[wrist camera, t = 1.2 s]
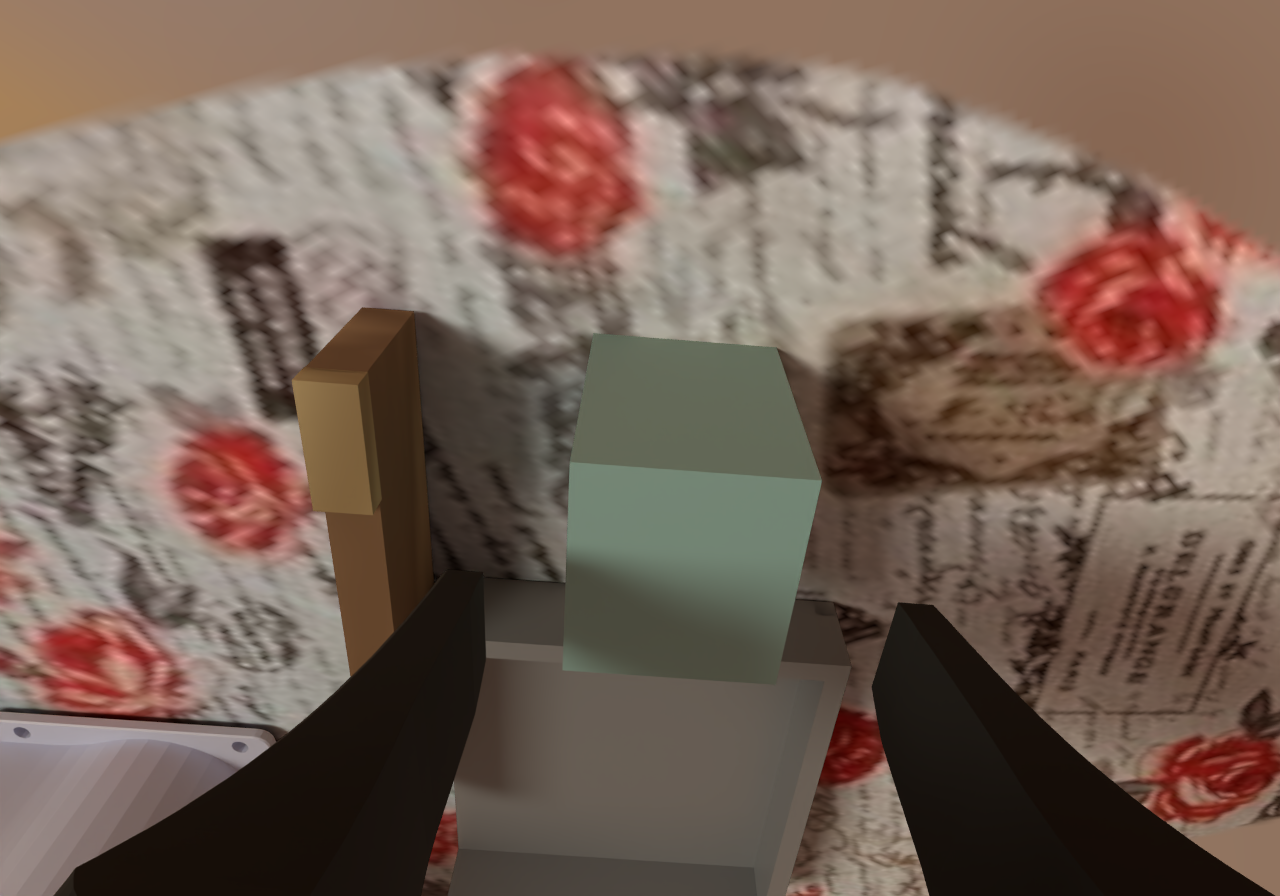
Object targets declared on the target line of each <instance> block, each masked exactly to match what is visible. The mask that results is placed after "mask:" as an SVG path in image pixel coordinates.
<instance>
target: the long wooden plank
mask: <svg viewBox="0 0 1280 896" xmlns="http://www.w3.org/2000/svg"><path fill="white" fill-rule="evenodd" d="M292 384H293V391H294V397H295V403H296V409H297V415H298V421H299V427H300V433H301V439H302V446H303V452H304V458H305V464H306V470H307V476H308V482H309V488H310V495H311V501H312V507H313V511H321V512H325V513H326V520H327V526H328V533H329V539H330V546H331V552H332V559H333V565H334V572H335V578H336V585H337V591H338V598H339V604H340V611H341V617H342V624H343V630H344V637H345V643H346V650H347V656H348V662H349V669H350V675H351V676H352V675H353V674H354V673H355V672H356V671H357V670H358V669H359V668H360V667H361V666H362V665H363V664H364V663H365V662H366V661H367V660H368V659H369V658H370V657H371V656H372V655H373V654H374V653H375V652H376V651H377V650H378V649H379V648H380V647H381V646H382V644H383V643H384V642H385V641H386V640H387V639H388V638H389V637H390V636H391V635H392V634H393V632H394V631H395V630H396V629H397V628H398V627H399V626H400V625H401V624H402V622H403V621H404V620H405V619H406V618H407V617H408V615H409V614H410V613H411V612H412V611H413V610H414V608H415V607H416V606H417V605H418V604H419V602H420V601H421V600H422V599H423V598H424V596H425V595H426V594H427V593H428V591H429V590H430V589H431V588H432V586H433V585H434V576H433V563H432V549H431V536H430V522H429V509H428V495H427V481H426V468H425V454H424V441H423V427H422V414H421V400H420V387H419V373H418V360H417V346H416V332H415V319H414V311H401V310H389V309H376V308H363V307H362V308H361V309H360V310H359V311H358V313H357V314H356V315H355V316H354V317H353V318H352V319H351V320H350V321H349V322H348V323H347V324H346V325H345V326H344V327H343V328H342V329H341V330H340V331H339V332H338V333H337V335H336V336H335V337H334V338H333V339H332V340H331V341H330V342H329V343H328V344H327V345H326V346H325V347H324V348H323V349H322V350H321V351H320V352H319V353H318V354H317V355H316V357H315V358H314V359H313V360H312V361H311V362H310V363H309V364H308V365H307V366H306V367H304V368H303V369H302V370H301V371H300V372H299V373H298V374H297V375H296V376H295V377H294V378H293V379H292Z"/></svg>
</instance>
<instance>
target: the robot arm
mask: <svg viewBox="0 0 1280 896" xmlns="http://www.w3.org/2000/svg"><path fill="white" fill-rule="evenodd" d="M485 662H486V640H485V611H484V581H483V572H473V571H459V570H447V571H446V572H444V573H443V574H442V575H441V576H440V577H439V579H438V580H437V581H436V582H435V584H434V585H433V586H432V588H431V589H430V590H429V591H428V593H427V594H426V595H425V596H424V598H423V599H422V600H421V601H420V602H419V604H418V605H417V606H416V607H415V608H414V610H413V611H412V612H411V613H410V614H409V615H408V617H407V618H406V619H405V620H404V621H403V622H402V624H401V625H400V626H399V627H398V628H397V629H396V630H395V631H394V632H393V634H392V635H391V636H390V637H389V638H388V639H387V640H386V641H385V642H384V643H383V644H382V646H381V647H380V648H379V649H378V650H377V651H376V652H375V653H374V654H373V655H372V656H371V657H370V658H369V659H368V660H367V661H366V662H365V663H364V664H363V665H362V666H361V667H360V668H359V669H358V670H357V671H356V672H355V673H354V674H353V675H352V676H351V677H350V678H349V679H348V680H347V681H346V682H345V683H344V684H343V685H342V686H341V687H340V688H339V689H338V690H337V691H336V692H335V693H334V694H333V695H331V696H330V697H329V698H328V699H327V700H326V701H325V702H324V703H323V704H322V705H320V706H319V707H318V708H317V709H316V710H315V711H314V712H312V713H311V714H310V715H309V716H308V717H307V718H305V719H304V720H303V721H302V722H301V723H299V724H298V725H297V726H296V727H295V728H293V729H292V730H291V731H290V732H289V733H287V734H286V735H285V736H284V737H282V738H281V739H280V740H278V741H277V742H276V740H275V738H274V736H273V735H272V734H271V733H269V732H268V731H265V730H262V729H254V728H239V727H224V726H209V725H194V724H179V723H164V722H149V721H135V720H120V719H105V718H90V717H75V716H60V715H45V714H30V713H15V712H0V896H421V892H422V888H423V884H424V879H425V875H426V870H427V866H428V862H429V858H430V855H431V851H432V847H433V844H434V840H435V837H436V833H437V830H438V827H439V824H440V821H441V818H442V815H443V812H444V809H445V806H446V803H447V800H448V797H449V794H450V791H451V787H452V784H453V781H454V778H455V775H456V772H457V769H458V766H459V763H460V760H461V757H462V754H463V751H464V747H465V744H466V741H467V738H468V735H469V732H470V729H471V726H472V722H473V719H474V716H475V712H476V708H477V703H478V698H479V693H480V688H481V683H482V678H483V673H484V668H485ZM872 691H873V697H874V703H875V709H876V715H877V720H878V725H879V730H880V736H881V741H882V745H883V748H884V751H885V754H886V758H887V761H888V764H889V767H890V770H891V774H892V777H893V780H894V783H895V786H896V790H897V793H898V796H899V799H900V802H901V805H902V808H903V811H904V814H905V817H906V821H907V824H908V827H909V830H910V833H911V836H912V839H913V842H914V845H915V848H916V852H917V855H918V858H919V861H920V864H921V867H922V871H923V874H924V878H925V881H926V885H927V889H928V892H929V896H1275V895H1273V894H1271V893H1270V892H1268V891H1267V890H1265V889H1264V888H1262V887H1260V886H1259V885H1257V884H1256V883H1254V882H1253V881H1251V880H1249V879H1248V878H1246V877H1245V876H1243V875H1242V874H1240V873H1239V872H1237V871H1235V870H1234V869H1232V868H1231V867H1229V866H1228V865H1226V864H1224V863H1223V862H1222V861H1220V860H1219V859H1217V858H1216V857H1214V856H1213V855H1211V854H1210V853H1208V852H1207V851H1205V850H1204V849H1202V848H1201V847H1199V846H1198V845H1197V844H1195V843H1194V842H1192V841H1191V840H1190V839H1188V838H1187V837H1185V836H1184V835H1183V834H1181V833H1180V832H1178V831H1177V830H1176V829H1174V828H1173V827H1172V826H1170V825H1169V824H1167V823H1166V822H1165V821H1163V820H1162V819H1161V818H1159V817H1158V816H1156V815H1155V814H1154V813H1152V812H1151V811H1150V810H1148V809H1147V808H1146V807H1144V806H1143V805H1142V804H1141V803H1139V802H1138V801H1137V800H1135V799H1134V798H1133V797H1131V796H1130V795H1129V794H1128V793H1126V792H1125V791H1124V790H1123V789H1122V788H1120V787H1119V786H1118V785H1117V784H1115V783H1114V782H1113V781H1112V780H1111V779H1109V778H1108V777H1107V776H1106V775H1105V774H1103V773H1102V772H1101V771H1100V770H1098V769H1097V768H1096V767H1095V766H1094V765H1092V764H1091V763H1090V762H1089V761H1088V760H1087V759H1085V758H1084V757H1083V756H1082V755H1081V754H1080V753H1079V752H1077V751H1076V750H1075V749H1074V748H1073V747H1072V746H1071V745H1070V744H1069V743H1067V742H1066V741H1065V740H1064V739H1063V738H1062V737H1061V736H1060V735H1059V734H1058V733H1057V732H1056V731H1055V730H1054V729H1052V728H1051V727H1050V726H1049V725H1048V724H1047V723H1046V722H1045V721H1044V720H1043V719H1042V718H1041V717H1040V716H1039V715H1038V714H1037V713H1036V712H1035V711H1034V710H1033V709H1031V708H1030V707H1029V706H1028V705H1027V704H1026V703H1025V702H1024V701H1023V700H1022V699H1021V698H1020V697H1019V696H1018V695H1017V694H1016V693H1015V692H1014V691H1013V689H1012V688H1011V687H1010V686H1009V685H1008V684H1007V683H1006V682H1005V681H1004V680H1003V679H1002V678H1001V677H1000V676H999V675H998V674H997V673H996V672H995V671H994V670H993V669H992V668H991V667H990V665H989V664H988V663H987V662H986V661H985V660H984V659H983V658H982V657H981V656H980V655H979V654H978V653H977V652H976V650H975V649H974V648H973V647H972V646H971V645H970V644H969V643H968V642H967V641H966V640H965V639H964V637H963V636H962V635H961V634H960V633H959V632H958V631H957V630H956V629H955V628H954V627H953V626H952V624H951V623H950V622H949V621H948V620H947V619H946V618H945V617H944V616H943V615H942V614H941V613H940V612H939V611H938V610H937V609H936V608H935V607H934V606H933V605H925V604H911V603H898V605H897V608H896V611H895V614H894V617H893V621H892V624H891V627H890V630H889V633H888V636H887V640H886V643H885V646H884V649H883V652H882V656H881V659H880V662H879V665H878V668H877V671H876V675H875V678H874V681H873V684H872Z"/></svg>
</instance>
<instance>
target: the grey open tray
mask: <svg viewBox="0 0 1280 896" xmlns="http://www.w3.org/2000/svg"><path fill="white" fill-rule="evenodd" d="M483 581H484V611H485V640H486V662H485V668H484V673H483V678H482V683H481V688H480V693H479V698H478V703H477V708H476V712H475V716H474V719H473V722H472V726H471V729H470V732H469V735H468V738H467V741H466V744H465V747H464V751H463V754H462V757H461V760H460V763H459V766H458V769H457V772H456V775H455V778H454V788H455V802H456V817H457V832H458V846H459V849H458V854H457V858H456V862H455V866H454V871H453V875H452V879H451V883H450V888H449V892H448V896H785V895H786V892H787V888H788V885H789V881H790V878H791V875H792V871H793V868H794V864H795V861H796V857H797V854H798V850H799V847H800V843H801V840H802V837H803V833H804V830H805V826H806V823H807V819H808V816H809V812H810V809H811V805H812V802H813V799H814V795H815V792H816V788H817V785H818V781H819V778H820V774H821V771H822V768H823V764H824V761H825V757H826V754H827V750H828V747H829V743H830V740H831V736H832V733H833V730H834V726H835V723H836V719H837V716H838V712H839V709H840V705H841V702H842V698H843V695H844V692H845V688H846V685H847V681H848V678H849V674H850V671H851V667H852V666H851V662H850V659H849V655H848V652H847V648H846V645H845V641H844V638H843V634H842V631H841V627H840V624H839V621H838V617H837V614H836V610H835V607H834V603H833V602H820V601H806V600H795V602H794V606H793V611H792V615H791V619H790V624H789V628H788V633H787V637H786V642H785V646H784V650H783V655H782V659H781V664H780V668H779V672H778V677H777V681H776V685H771V684H756V683H742V682H727V681H712V680H697V679H683V678H668V677H653V676H638V675H624V674H609V673H594V672H579V671H565V670H563V642H564V613H565V584H566V583H553V582H539V581H524V580H510V579H496V578H483Z"/></svg>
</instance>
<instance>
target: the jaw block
mask: <svg viewBox="0 0 1280 896" xmlns="http://www.w3.org/2000/svg"><path fill="white" fill-rule="evenodd" d="M821 483H822V479H821V476H820V473H819V470H818V467H817V465H816V462H815V459H814V456H813V453H812V450H811V447H810V444H809V441H808V438H807V435H806V432H805V429H804V427H803V424H802V421H801V418H800V415H799V412H798V409H797V406H796V403H795V400H794V397H793V394H792V391H791V388H790V386H789V383H788V380H787V377H786V374H785V371H784V368H783V365H782V362H781V359H780V356H779V353H778V350H777V348H775V347H762V346H749V345H736V344H724V343H711V342H698V341H685V340H672V339H659V338H647V337H634V336H621V335H608V334H595V333H594V335H593V340H592V346H591V351H590V356H589V362H588V367H587V372H586V378H585V383H584V389H583V394H582V399H581V405H580V410H579V415H578V421H577V426H576V431H575V437H574V442H573V448H572V453H571V458H570V470H569V499H568V527H567V556H566V584H565V613H564V642H563V670H565V671H579V672H594V673H609V674H624V675H638V676H653V677H668V678H683V679H697V680H712V681H727V682H742V683H756V684H771V685H776V681H777V677H778V672H779V668H780V664H781V659H782V655H783V650H784V646H785V642H786V637H787V633H788V628H789V624H790V619H791V615H792V611H793V606H794V602H795V597H796V593H797V589H798V584H799V580H800V575H801V571H802V567H803V562H804V558H805V553H806V549H807V545H808V540H809V536H810V531H811V527H812V523H813V518H814V514H815V509H816V505H817V501H818V496H819V492H820V487H821Z"/></svg>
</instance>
